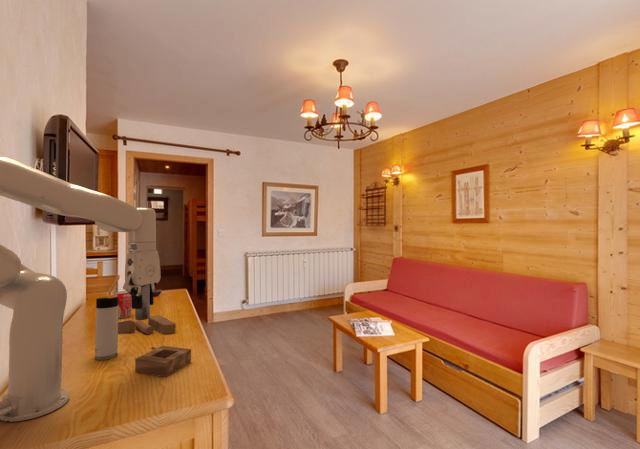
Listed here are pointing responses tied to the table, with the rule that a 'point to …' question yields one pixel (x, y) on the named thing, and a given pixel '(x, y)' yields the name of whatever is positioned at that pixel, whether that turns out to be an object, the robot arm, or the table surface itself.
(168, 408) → the table surface
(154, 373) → the brown hollow tray
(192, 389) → the table surface
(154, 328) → the wooden block set
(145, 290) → the round metal rod
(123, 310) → the soda can
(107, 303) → the travel mug
